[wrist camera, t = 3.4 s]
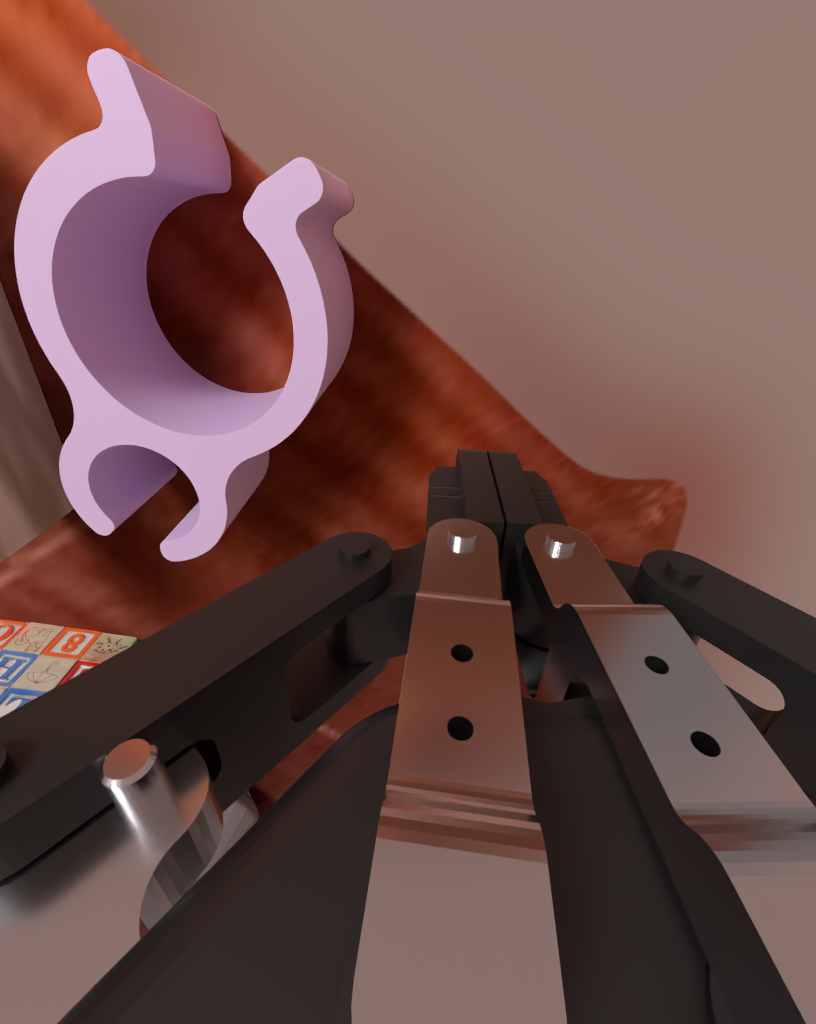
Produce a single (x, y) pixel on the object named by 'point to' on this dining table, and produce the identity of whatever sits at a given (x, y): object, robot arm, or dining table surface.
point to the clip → (129, 316)
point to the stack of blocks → (48, 658)
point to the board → (25, 446)
